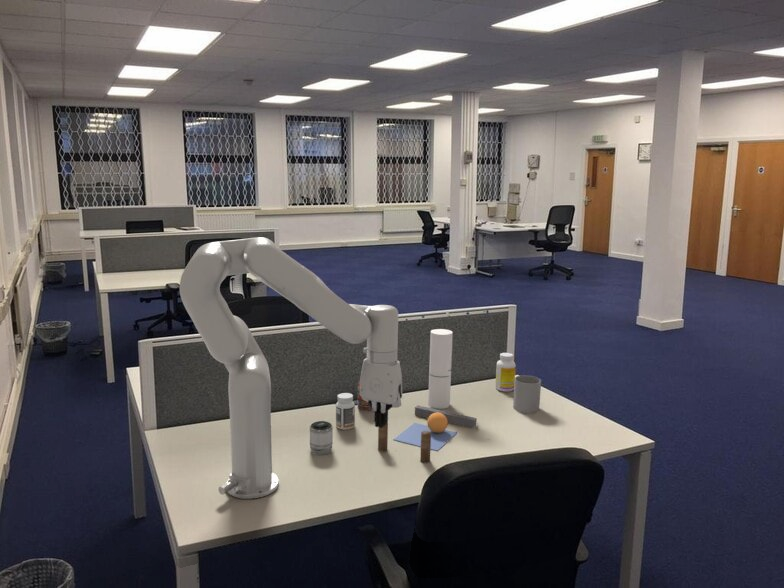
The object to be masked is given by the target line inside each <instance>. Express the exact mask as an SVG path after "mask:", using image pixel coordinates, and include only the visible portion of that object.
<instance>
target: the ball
mask: <svg viewBox="0 0 784 588" xmlns="http://www.w3.org/2000/svg"><path fill="white" fill-rule="evenodd" d="M448 423H449V422H447V418H446V417H445V416H444V415H443V414H442V413H438V412H437V413H433V414H431V415H430V416H429V418H427V422H426V424H427V426H428V427H429V429H430V430H431V431H432V432H434V433H441V432H443V431H444V430H447V427H448Z"/></svg>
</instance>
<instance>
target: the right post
mask: <svg viewBox="0 0 784 588" xmlns="http://www.w3.org/2000/svg"><path fill="white" fill-rule="evenodd" d="M430 448H431V432H429V431H422V432H421V447H420V462H421V463H423V464H428V463H430V462H431V449H430Z"/></svg>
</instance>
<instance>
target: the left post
mask: <svg viewBox="0 0 784 588" xmlns="http://www.w3.org/2000/svg"><path fill="white" fill-rule="evenodd" d="M388 427H389V422H387V424H386V425H385V426H383V427H382V428H379V427H377V428H378V429H377V431H378V434H377V436H378V437H377V438H378V440H377V450H378V452H381V453H385V452H387V451H388V444H389V443H388V439H389V438H388V436H389V434H388V432H389V428H388Z"/></svg>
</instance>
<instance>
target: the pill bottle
mask: <svg viewBox="0 0 784 588" xmlns="http://www.w3.org/2000/svg"><path fill="white" fill-rule="evenodd" d="M353 400H354V395H353V394H352V393H350V392H342V393H339V394H337V402H336V403H335V425H336V426H335V427H337V429H340V430H343V431H344V430H346V431H347V430H351V429H353V428H355V425H356V424H355V423H356V421H355V419H356V414H355V412H356V409H355V407H356V405H355V402H354V401H353Z"/></svg>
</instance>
